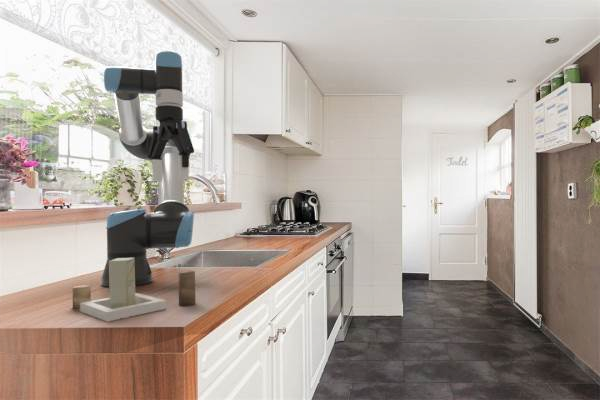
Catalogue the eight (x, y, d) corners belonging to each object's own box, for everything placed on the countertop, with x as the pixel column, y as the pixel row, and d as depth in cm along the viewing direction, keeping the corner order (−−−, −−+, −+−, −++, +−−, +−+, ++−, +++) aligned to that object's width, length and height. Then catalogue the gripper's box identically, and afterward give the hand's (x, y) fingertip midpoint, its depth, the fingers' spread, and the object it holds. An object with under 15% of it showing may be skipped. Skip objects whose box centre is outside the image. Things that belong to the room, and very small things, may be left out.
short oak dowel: (69, 307, 106) (69, 287, 106) (86, 304, 109) (86, 284, 109) (76, 310, 104) (76, 289, 104) (93, 306, 107) (93, 286, 107)
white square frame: (80, 311, 102) (80, 302, 102) (136, 300, 113) (136, 292, 113) (107, 321, 93) (107, 312, 93) (165, 308, 104) (165, 300, 104)
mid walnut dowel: (175, 304, 108) (175, 272, 108) (189, 301, 111) (188, 270, 111) (184, 306, 105) (184, 273, 105) (198, 303, 108) (198, 271, 108)
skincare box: (128, 313, 100) (127, 260, 100) (108, 313, 100) (107, 260, 100) (136, 306, 107) (135, 256, 107) (117, 307, 106) (116, 257, 106)
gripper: (135, 111, 131) (136, 181, 131) (182, 97, 114) (183, 178, 114) (157, 115, 136) (158, 182, 136) (206, 102, 120) (207, 179, 120)
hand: (170, 180), depth 125 cm, fingers open, 13 cm apart
